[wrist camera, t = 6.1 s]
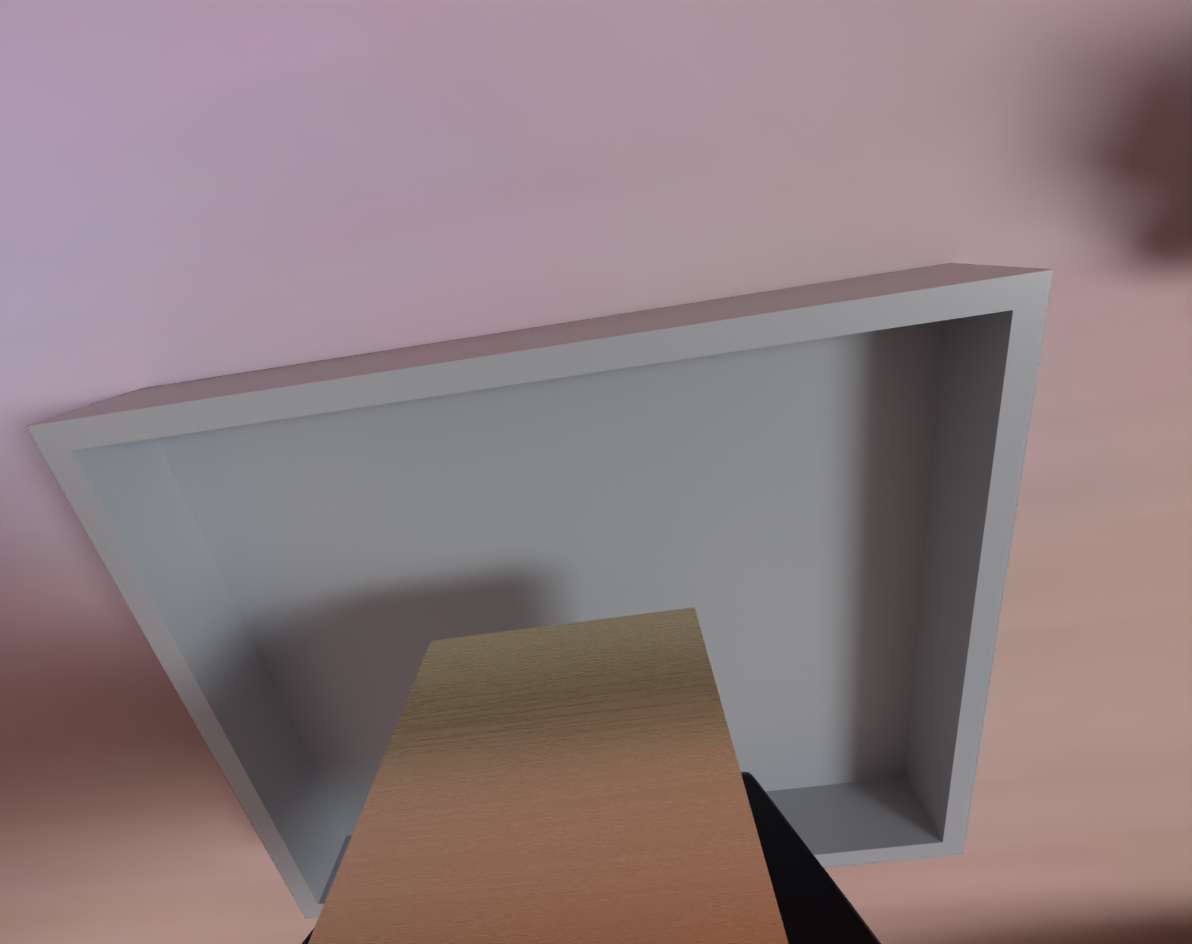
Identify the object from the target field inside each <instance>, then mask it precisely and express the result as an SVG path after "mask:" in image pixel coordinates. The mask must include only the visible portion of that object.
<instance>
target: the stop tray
mask: <svg viewBox="0 0 1192 944" xmlns="http://www.w3.org/2000/svg"><path fill="white" fill-rule="evenodd" d="M1052 275H1053V269H1038V268H1022V267H1006V266H990V265H974V264H958V263H949V264H943V265H936V266H930V267H923V268H917V269H910V270H904V271H897V272H891V273H884V274H878V275H871V276H865V277H859V278H852V279H846V280H839V281H833V282H826V283H820V284H813V285H807V286H800V287H794V288H787V289H781V290H775V291H768V292H762V293H755V294H749V295H742V296H736V297H729V298H723V299H716V300H710V301H703V302H697V303H691V304H684V305H678V306H671V307H665V308H658V309H652V310H645V311H639V312H632V313H626V314H619V315H613V316H607V317H600V318H594V319H587V320H581V321H574V322H568V323H561V324H555V325H548V326H542V327H535V328H529V329H523V330H516V331H510V332H503V333H497V334H490V335H484V336H477V337H471V338H464V339H458V340H451V341H445V342H439V343H432V344H426V345H419V346H413V347H406V348H400V349H393V350H387V351H380V352H374V353H367V354H361V355H355V356H348V357H342V358H335V359H329V360H322V361H316V362H309V363H303V364H296V365H290V366H284V367H277V368H271V369H264V370H258V371H251V372H245V373H238V374H232V375H225V376H219V377H212V378H206V379H200V380H193V381H187V382H180V383H174V384H167V385H161V386H154V387H148V388H142V389H139V390H136V391H133V392H130V393H127V394H123V395H120V396H117V397H114V398H111V399H108V400H105V401H102V402H99V403H96V404H93V405H90V406H87V407H84V408H81V409H77V410H74V411H71V412H68V413H65V414H62V415H59V416H56V417H53V418H50V419H47V420H44V421H41V422H38V423H35V424H31V425H28V426H26V427H27V429H28V431H29V433H30V435H31V436H32V438H33V440H34V442H35V443H36V445H37V447H38V449H39V450H40V452H41V454H42V456H43V457H44V459H45V461H46V463H47V464H48V466H49V468H50V470H51V471H52V473H53V475H54V477H55V479H56V480H57V482H58V484H59V486H60V487H61V489H62V491H63V493H64V494H65V496H66V498H67V500H68V501H69V503H70V505H71V507H72V508H73V510H74V512H75V514H76V516H77V517H78V519H79V521H80V523H81V524H82V526H83V528H84V530H85V531H86V533H87V535H88V537H89V538H90V540H91V542H92V544H93V545H94V547H95V549H96V551H97V552H98V554H99V556H100V558H101V560H102V561H103V563H104V565H105V567H106V568H107V570H108V572H109V574H110V575H111V577H112V579H113V581H114V582H115V584H116V586H117V588H118V589H119V591H120V593H121V595H122V597H123V598H124V600H125V602H126V604H127V605H128V607H129V609H130V611H131V612H132V614H133V616H134V618H135V619H136V621H137V623H138V625H139V626H140V628H141V630H142V632H143V633H144V635H145V637H146V639H147V641H148V642H149V644H150V646H151V648H152V649H153V651H154V653H155V655H156V656H157V658H158V660H159V662H160V663H161V665H162V667H163V669H164V670H165V672H166V674H167V676H168V678H169V679H170V681H171V683H172V685H173V686H174V688H175V690H176V692H177V693H178V695H179V697H180V699H181V700H182V702H183V704H184V706H185V707H186V709H187V711H188V713H189V714H190V716H191V718H192V720H193V722H194V723H195V725H196V727H197V729H198V730H199V732H200V734H201V736H202V737H203V739H204V741H205V743H206V744H207V746H208V748H209V750H210V751H211V753H212V755H213V757H214V759H215V760H216V762H217V764H218V766H219V767H220V769H221V771H222V773H223V774H224V776H225V778H226V780H227V781H228V783H229V785H230V787H231V788H232V790H233V792H234V794H235V795H236V797H237V799H238V801H239V803H240V804H241V806H242V808H243V810H244V811H245V813H246V815H247V817H248V818H249V820H250V822H251V824H252V825H253V827H254V829H255V831H256V832H257V834H258V836H259V838H260V839H261V841H262V843H263V845H264V847H265V848H266V850H267V852H268V854H269V855H270V857H271V859H272V861H273V862H274V864H275V866H276V868H277V869H278V871H279V873H280V875H281V876H282V878H283V880H284V882H285V884H286V885H287V887H288V889H289V891H290V892H291V894H292V896H293V898H294V899H295V901H296V903H297V905H298V906H299V908H300V910H301V912H302V913H303V915H304V917H305V918H315V917H319V915H320V913H321V910H322V908H323V906H324V903H325V901H326V898H327V896H328V893H329V891H330V888H331V886H332V883H333V881H334V878H335V876H336V873H337V871H338V868H339V866H340V864H341V861H342V859H343V856H344V854H345V851H346V849H347V846H348V844H349V841H350V839H351V836H352V834H353V831H354V829H355V826H356V824H357V822H358V819H359V817H360V814H361V812H362V809H363V807H364V804H365V802H366V799H367V797H368V794H369V792H370V789H371V787H372V785H373V782H374V780H375V777H376V775H377V772H378V770H379V767H380V765H381V762H382V760H383V757H384V755H385V752H386V750H387V747H388V745H389V743H390V740H391V738H392V735H393V733H394V730H395V728H396V725H397V723H398V720H399V718H400V715H401V713H402V710H403V708H404V705H405V703H406V701H407V698H408V696H409V693H410V691H411V688H412V686H413V683H414V681H415V678H416V676H417V673H418V671H419V668H420V666H421V663H422V661H423V659H424V656H425V654H426V651H427V649H428V646H429V644H430V641H433V640H441V639H449V638H457V637H465V636H472V635H480V634H488V633H496V632H504V631H512V630H520V629H528V628H535V627H543V626H551V625H559V624H567V623H575V622H583V621H591V620H598V619H606V618H614V617H622V616H630V615H638V614H646V613H653V612H661V611H669V610H677V609H685V608H693V607H695V610H696V614H697V618H698V621H699V625H700V628H701V632H702V635H703V639H704V643H705V646H706V650H707V653H708V657H709V661H710V664H711V668H712V671H713V675H714V678H715V682H716V686H717V689H718V693H719V696H720V700H721V704H722V707H723V711H724V714H725V718H726V721H727V725H728V729H729V732H730V736H731V739H732V743H733V747H734V750H735V754H736V757H737V761H738V764H739V768H740V772H749V773H751V774H752V775H753V776H754V777H755V779H756V780H757V781H758V783H759V784H760V785H761V786H762V788H763V789H764V790H765V792H766V793H767V794H768V796H769V797H770V798H771V800H772V801H773V802H774V804H775V805H776V806H777V807H778V809H779V810H780V811H781V813H782V814H783V815H784V817H785V818H786V819H787V821H788V822H789V823H790V825H791V826H792V827H793V829H794V830H795V831H796V832H797V834H798V835H799V836H800V838H801V839H802V840H803V842H804V843H805V844H806V846H807V847H808V848H809V850H810V851H811V852H812V853H813V855H814V856H815V857H816V859H817V860H818V861H819V863H820V864H821V865H822V867H823V868H827V867H837V866H847V865H857V864H868V863H878V862H888V861H898V860H909V859H919V858H929V857H939V856H949V855H960V854H963V850H964V843H965V837H966V830H967V824H968V818H969V811H970V805H971V798H972V792H973V785H974V779H975V772H976V766H977V759H978V753H979V747H980V740H981V734H982V727H983V721H984V714H985V708H986V701H987V695H988V688H989V682H990V675H991V669H992V663H993V656H994V650H995V643H996V637H997V630H998V624H999V617H1000V611H1001V604H1002V598H1003V592H1004V585H1005V579H1006V572H1007V566H1008V559H1009V553H1010V546H1011V540H1012V533H1013V527H1014V520H1015V514H1016V508H1017V501H1018V495H1019V488H1020V482H1021V475H1022V469H1023V462H1024V456H1025V449H1026V443H1027V437H1028V430H1029V424H1030V417H1031V411H1032V404H1033V398H1034V391H1035V385H1036V378H1037V372H1038V366H1039V359H1040V353H1041V346H1042V340H1043V333H1044V327H1045V320H1046V314H1047V307H1048V301H1049V294H1050V288H1051V282H1052Z"/></svg>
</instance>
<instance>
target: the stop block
mask: <svg viewBox="0 0 1192 944" xmlns="http://www.w3.org/2000/svg"><path fill="white" fill-rule="evenodd" d="M308 944H788V940H787V937H786V933H785V929H784V926H783V922H782V919H781V915H780V911H779V908H778V904H777V901H776V897H775V894H774V890H773V886H772V883H771V879H770V876H769V872H768V868H767V865H766V861H765V858H764V854H763V851H762V847H761V843H760V840H759V836H758V833H757V829H756V825H755V822H754V818H753V815H752V811H751V807H750V804H749V800H748V797H747V793H746V790H745V786H744V782H743V779H742V775H741V772H740V768H739V764H738V761H737V757H736V754H735V750H734V747H733V743H732V739H731V736H730V732H729V729H728V725H727V721H726V718H725V714H724V711H723V707H722V704H721V700H720V696H719V693H718V689H717V686H716V682H715V678H714V675H713V671H712V668H711V664H710V661H709V657H708V653H707V650H706V646H705V643H704V639H703V635H702V632H701V628H700V625H699V621H698V618H697V614H696V610H695V607H693V608H685V609H677V610H669V611H661V612H653V613H646V614H638V615H630V616H622V617H614V618H606V619H598V620H591V621H583V622H575V623H567V624H559V625H551V626H543V627H535V628H528V629H520V630H512V631H504V632H496V633H488V634H480V635H472V636H465V637H457V638H449V639H441V640H433V641H430V644H429V646H428V649H427V651H426V654H425V656H424V659H423V661H422V663H421V666H420V668H419V671H418V673H417V676H416V678H415V681H414V683H413V686H412V688H411V691H410V693H409V696H408V698H407V701H406V703H405V705H404V708H403V710H402V713H401V715H400V718H399V720H398V723H397V725H396V728H395V730H394V733H393V735H392V738H391V740H390V743H389V745H388V747H387V750H386V752H385V755H384V757H383V760H382V762H381V765H380V767H379V770H378V772H377V775H376V777H375V780H374V782H373V785H372V787H371V789H370V792H369V794H368V797H367V799H366V802H365V804H364V807H363V809H362V812H361V814H360V817H359V819H358V822H357V824H356V826H355V829H354V831H353V834H352V836H351V839H350V841H349V844H348V846H347V849H346V851H345V854H344V856H343V859H342V861H341V864H340V866H339V868H338V871H337V873H336V876H335V878H334V881H333V883H332V886H331V888H330V891H329V893H328V896H327V898H326V901H325V903H324V906H323V908H322V910H321V913H320V915H319V918H318V920H317V923H316V925H315V928H314V930H313V933H312V935H311V938H310V940H309V943H308Z"/></svg>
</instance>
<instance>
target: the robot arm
mask: <svg viewBox="0 0 1192 944" xmlns="http://www.w3.org/2000/svg"><path fill="white" fill-rule="evenodd" d="M741 775H742V779H743V782H744V786H745V790H746V793H747V797H748V800H749V804H750V807H751V811H752V815H753V818H754V822H755V825H756V829H757V833H758V836H759V840H760V843H761V847H762V851H763V854H764V858H765V861H766V865H767V868H768V872H769V876H770V879H771V883H772V886H773V890H774V894H775V897H776V901H777V904H778V908H779V911H780V915H781V919H782V922H783V926H784V929H785V933H786V937H787V940H788V944H881V943H880V941H879V940H878V939H877V938H876V936H875V935H874V934H873V932H872V931H871V930H870V928H869V927H868V926H867V924H866V923H865V922H864V920H863V919H862V918H861V916H860V915H859V914H858V913H857V911H856V910H855V909H854V907H853V906H852V905H851V903H850V902H849V901H848V899H847V898H846V897H845V895H844V894H843V893H842V892H841V890H840V889H839V888H838V886H837V885H836V884H835V882H834V881H833V880H832V878H831V877H830V876H829V874H828V873H827V872H826V871H825V869H824V868H823V867H822V865H821V864H820V863H819V861H818V860H817V859H816V857H815V856H814V855H813V853H812V852H811V851H810V850H809V848H808V847H807V846H806V844H805V843H804V842H803V840H802V839H801V838H800V836H799V835H798V834H797V832H796V831H795V830H794V829H793V827H792V826H791V825H790V823H789V822H788V821H787V819H786V818H785V817H784V815H783V814H782V813H781V811H780V810H779V809H778V807H777V806H776V805H775V804H774V802H773V801H772V800H771V798H770V797H769V796H768V794H767V793H766V792H765V790H764V789H763V788H762V786H761V785H760V784H759V783H758V781H757V780H756V779H755V777H754V776H753V775H752V774H751V773H749V772H741ZM314 928H315V927H314ZM313 930H314V929H313ZM313 930H312V931H311V933H310V934H309V935H308V936H307V938H306V939H305V940H304V942H303V943H302V944H308V943H309V940H310V938H311V935H312V933H313Z"/></svg>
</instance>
